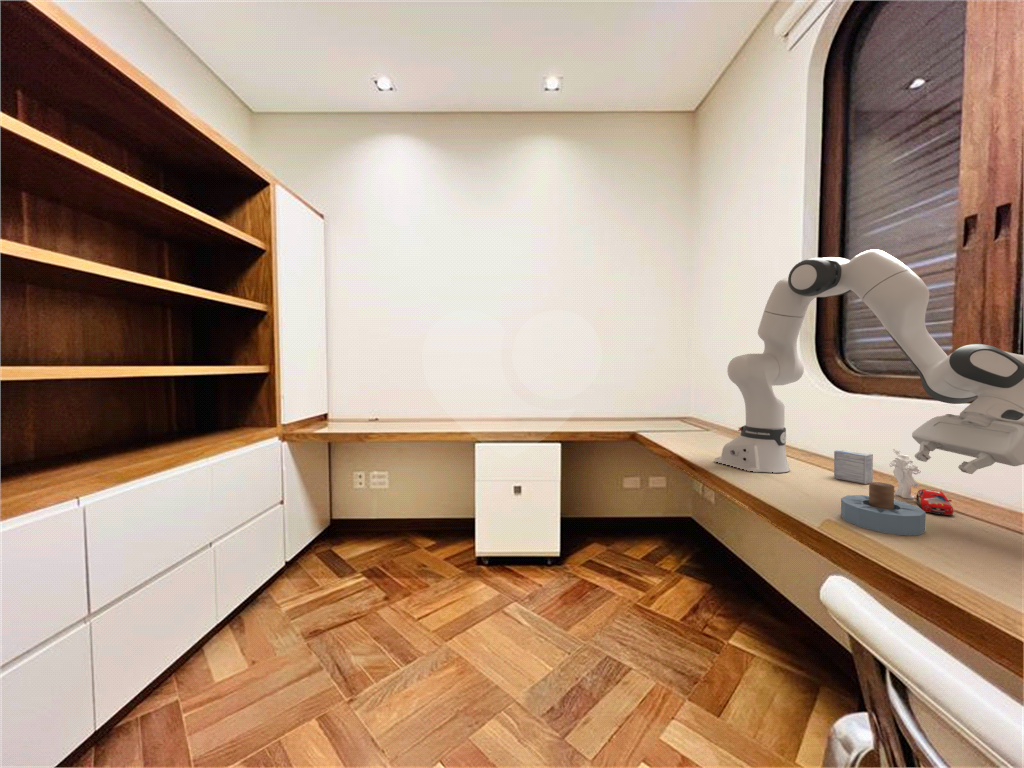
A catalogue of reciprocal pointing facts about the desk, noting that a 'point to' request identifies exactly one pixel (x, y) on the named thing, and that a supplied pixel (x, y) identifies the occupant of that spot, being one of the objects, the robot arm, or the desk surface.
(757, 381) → the robot arm
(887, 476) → the desk surface
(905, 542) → the desk surface
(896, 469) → the white figurine
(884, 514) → the bead
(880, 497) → the dowel
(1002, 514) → the desk surface
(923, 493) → the race car
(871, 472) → the grey ridged block
